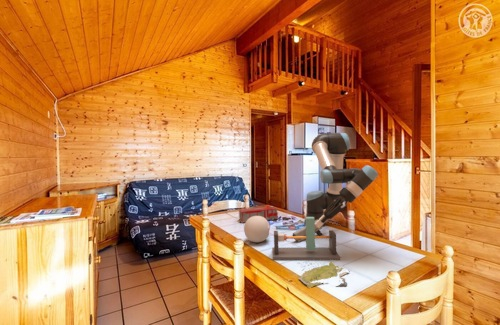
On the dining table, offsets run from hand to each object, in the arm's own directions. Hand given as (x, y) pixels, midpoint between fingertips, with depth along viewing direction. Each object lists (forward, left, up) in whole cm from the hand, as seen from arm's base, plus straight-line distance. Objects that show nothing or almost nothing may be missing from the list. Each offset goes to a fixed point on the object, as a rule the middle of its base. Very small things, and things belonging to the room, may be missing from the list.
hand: (316, 226), depth 121 cm
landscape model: (+7, +22, -15) cm, 28 cm away
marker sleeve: (+3, -1, -12) cm, 12 cm away
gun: (-8, -23, -15) cm, 29 cm away
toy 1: (+8, -72, -15) cm, 74 cm away
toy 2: (+22, -29, -15) cm, 39 cm away
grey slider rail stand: (+6, -2, -15) cm, 16 cm away
